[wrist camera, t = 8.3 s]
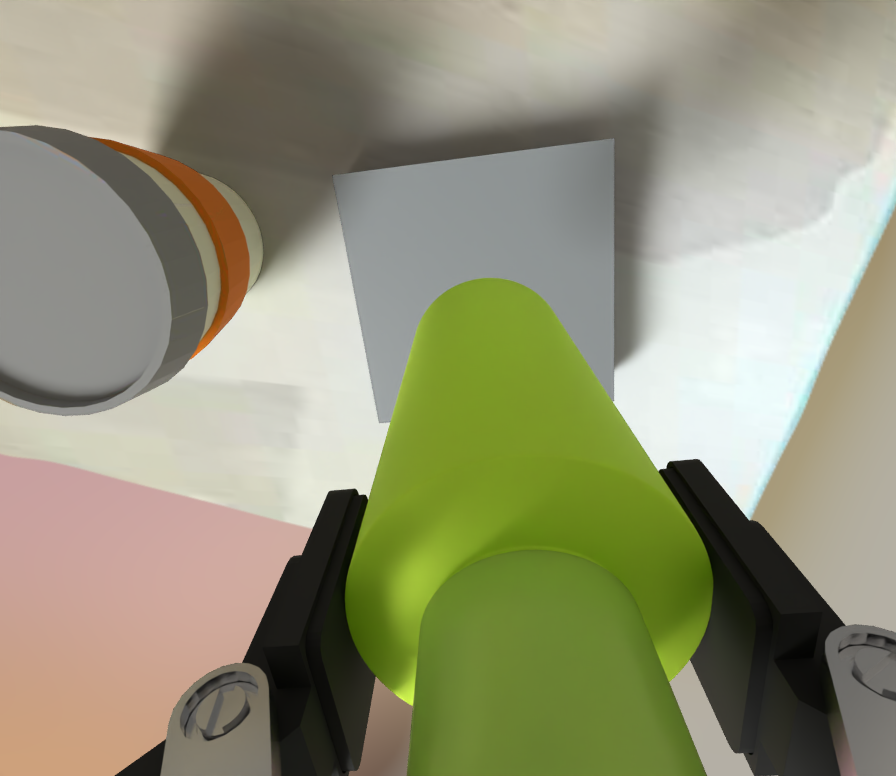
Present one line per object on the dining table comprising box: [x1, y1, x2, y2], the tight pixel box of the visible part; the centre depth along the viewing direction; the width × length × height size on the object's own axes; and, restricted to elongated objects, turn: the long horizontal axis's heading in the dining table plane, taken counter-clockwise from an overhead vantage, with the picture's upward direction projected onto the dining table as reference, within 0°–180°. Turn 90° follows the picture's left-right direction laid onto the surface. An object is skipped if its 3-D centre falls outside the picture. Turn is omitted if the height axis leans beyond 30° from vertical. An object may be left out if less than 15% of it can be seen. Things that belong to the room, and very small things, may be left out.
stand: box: [332, 138, 614, 423], centre depth 34 cm, size 16×16×4 cm
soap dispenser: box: [345, 278, 713, 776], centre depth 11 cm, size 6×7×20 cm
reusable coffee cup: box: [0, 125, 263, 416], centre depth 29 cm, size 13×13×15 cm
